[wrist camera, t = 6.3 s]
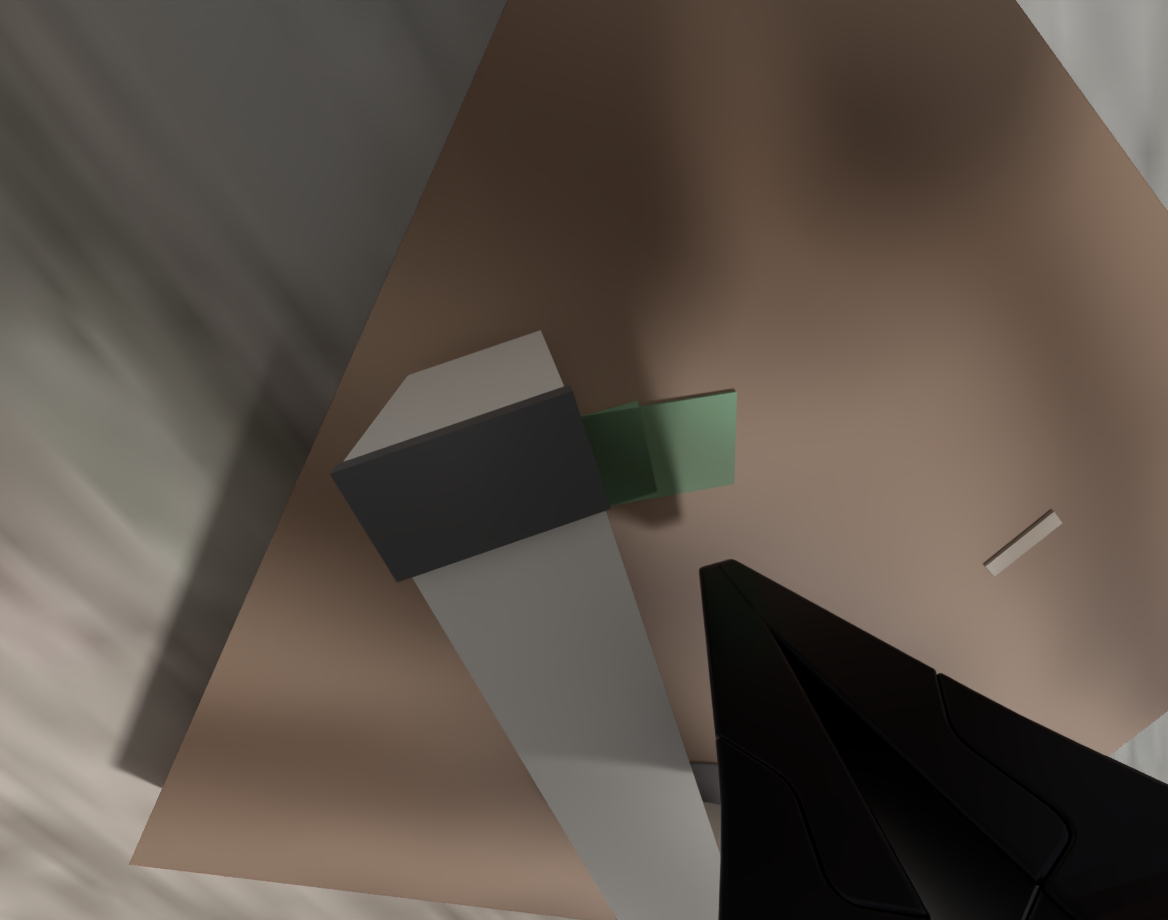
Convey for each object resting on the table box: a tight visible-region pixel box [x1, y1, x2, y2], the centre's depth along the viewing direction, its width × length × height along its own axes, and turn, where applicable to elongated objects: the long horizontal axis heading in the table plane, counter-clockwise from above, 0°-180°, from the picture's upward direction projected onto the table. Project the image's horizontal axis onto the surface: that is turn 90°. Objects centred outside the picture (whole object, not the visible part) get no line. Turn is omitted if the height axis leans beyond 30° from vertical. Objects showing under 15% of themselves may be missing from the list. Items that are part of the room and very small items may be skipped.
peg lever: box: [330, 330, 720, 920], centre depth 9 cm, size 16×4×3 cm, turn 17°
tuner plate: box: [129, 0, 1168, 920], centre depth 12 cm, size 22×25×2 cm
